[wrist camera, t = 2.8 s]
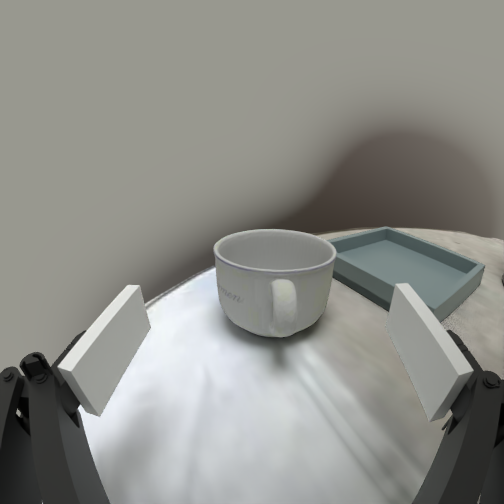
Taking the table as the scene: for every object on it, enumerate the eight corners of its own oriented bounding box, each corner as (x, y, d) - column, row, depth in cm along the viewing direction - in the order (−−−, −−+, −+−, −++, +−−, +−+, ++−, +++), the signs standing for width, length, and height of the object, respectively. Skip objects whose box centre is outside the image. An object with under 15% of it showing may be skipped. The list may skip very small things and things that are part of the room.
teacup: (236, 289, 33) (230, 225, 30) (326, 292, 31) (331, 226, 28) (196, 372, 20) (177, 286, 17) (334, 383, 18) (351, 294, 15)
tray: (384, 242, 45) (386, 226, 43) (479, 284, 28) (485, 265, 26) (310, 263, 38) (311, 244, 37) (426, 334, 21) (434, 309, 20)
